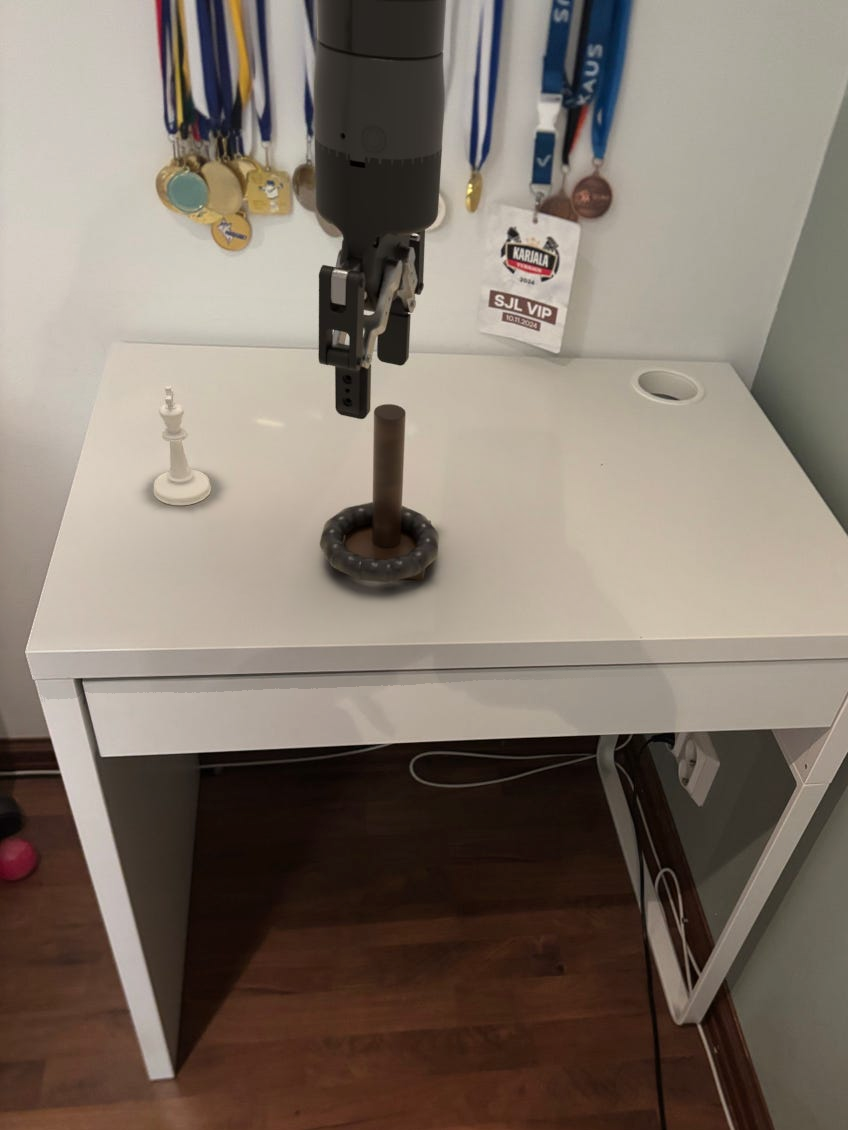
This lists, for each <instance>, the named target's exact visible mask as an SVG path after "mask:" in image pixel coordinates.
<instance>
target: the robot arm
mask: <svg viewBox="0 0 848 1130" xmlns="http://www.w3.org/2000/svg"><path fill="white" fill-rule="evenodd" d="M446 9H447V0H316V38H317V41H316V57H315V67H314V78H313V128H314V129H313V130H314V131H313V132H314V133H313V134H314V137H313V138H314V180H315V181H314V182H315V208H316V211H317V213H318V215H319V216H320V217H321V218H322V219H323V220H324V221H325V222H327V223H328V224H331V225H333V226H334V227H335V228H336V229H337V230H338V231H339V232H340V233H341V235H342V241H341V248H340V249H339V251H338V253H337V257H336V262H335V266H331V265H327V264H322V265H321V267H320V269H319V272H318V354H317V355H318V363H319V364H320V365H324V366H332V367H334V375H335V376H334V383H335V384H334V391H335V392H334V394H335V395H334V396H335V397H334V399H335V401H334V403H335V404H334V406H335V410H336V412H337V414H338V415H339V416H344V417H348V418H353V419H358V420H363V419H366V418H367V416H368V415H369V413H370V412H371V397H372V395H371V393H372V361H373V354H374V349H375V344H377V345H376V356H377V359H378V360H379V361H380V362H382V363H385V364H390V365H396V366H399V367H401V366H404V365H406V363H407V361H408V360H409V358H410V341H411V340H410V339H411V337H410V335H411V318H412V317H411V315H412V314H413V313H414V311H415V309H416V306H417V301H416V295H418V296H420V295H422V292H423V291H424V286H425V283H424V274H425V273H424V272H425V270H424V269H425V247H426V244H425V243H426V241H425V240H426V230H428V229H429V228H430V227H432V225H434V224H435V222H436V221H437V219H438V215H439V206H440V205H439V204H440V202H439V201H440V190H441V189H440V187H441V171H442V156H443V155H442V154H443V137H444V135H443V134H444V120H445V105H446V103H445V102H446V91H445V90H446V88H445V72H444V71H445V70H444V47H445V46H444V45H445V44H444V43H445V29H446V13H447V11H446ZM366 311H367V312H372V313H371V314H365V312H366ZM347 335H348V338H349V339H348V344H346V338H347ZM376 340H377V342H376Z"/></svg>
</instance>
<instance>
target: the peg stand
mask: <svg viewBox="0 0 848 1130" xmlns="http://www.w3.org/2000/svg"><path fill="white" fill-rule="evenodd" d="M405 435H406V410H405V409H404V408H403V407H402V406H399V405H397V404H392V403H385V404H380V405H378V406H376V407H375V408H374V410H373V439H372V441H373V445H372V446H373V447H372V449H373V450H372V453H373V454H372V502H373V508H372V524H370V525H365V526H361V527H356V528H354V529H353V530H351V531H350V532H349V533H347V534H346V535H345V536H344V539H343V543H344V544H345V546H346V547H347V549H348V550H350V551H352V552H354V553H356V554H358V555H360V556H362V557H365V558H376V559H391V558H395V557H399V556H403V555H407V554H408V553H409V552H410V551H411V550H413V549H414V548H415V547H416V543H417V540H416V539H415V537H414V536H413V535H412V534H411V532H408V531H406V530H404V529H402V528H401V518H402V506H403V492H404V491H403V490H404V489H403V487H404V467H405V466H404V465H405V464H404V463H405V462H404V461H405V438H406V436H405ZM428 521H429V522H430V523H431V524H432V521H431V520H430V519H428ZM338 572H339V573H342V572H341V571H339V570H338ZM425 572H426V568H425V569H424V570H422V571H421V572H420V573H419V574H417V575H415V576H412V577H408V578H406V579H407V580H408V579H409V580H419V581H423V580H424V578H425Z"/></svg>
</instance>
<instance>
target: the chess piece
mask: <svg viewBox="0 0 848 1130" xmlns="http://www.w3.org/2000/svg"><path fill="white" fill-rule="evenodd" d="M164 392H165V399H164V401H165V403H164V404H161V406H160V407H159V408H158V414H159V416H160V418H161V419H162V421H163V422H164V424H165V427H166V428H165V429H163V431H162V432H161V438H162V440H164V441H165V442H169V460H170V461H169V465H170V466H169V470H168V471H166V472H163V473H162V474H160V475H159V476H158V477H156V478H155V480H154V482H153V495H154V496H155V498H156V499H157V500H158V501H160V502H162V503H164V504H167V505H170V506H189V505H193V504H197V503H200V502H202V501H203V500H205V499H206V498H208V497H209V495H210V493H211V491H212V486H211V484H210V483H211V482H210V479H209V477H208V476H207V475H206V474H204V472H203V473H202V472H201V471H199V470H195V469H191V468H190V466H189V463H188V460H187V455H186V453H185V449H184V445H183V441H185V440H186V439H187V438H188V436H189V433H188V431H187V430H186V429H185V428H183V427H181V425H182V421H183V416H184V413H185V408H184V407H183V405H181V404H179V403H175V402H174V395H175V393H174V389H172V386H171V385H165V387H164Z"/></svg>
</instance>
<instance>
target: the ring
mask: <svg viewBox="0 0 848 1130" xmlns="http://www.w3.org/2000/svg"><path fill="white" fill-rule="evenodd" d="M372 508H373V501H372V502H367V503H362V504H357V505H352V506H347V507H345V508H342V510H340V511H339V512H338V513H336V514H335V515H333V516H332V517H331V518H329V519H328V520H326V521H325V523H324V526H323V528H322V533H321V536H320V540H319V548H320V551H321V552H322V553H323V555H324V556H325V558H326V559H327V561H328V562H329V564H330V565H331V567H332V568H334V569H336V570H338V572H339V571H341V572H340V573H342V574H346V575H347V576H350V577H352V578H354V579H356V580H358V581H359V580H360V581H368V582H380V583H391V582H395V581H399V580H404V579H407V578H408V577H412V576H415V575H417V574H419V573H420V572H421V571H422V570H424V569H425V570H426V568H427V567H428V566H430V565H431V564H432V563H433V562H434V561H435V560H436V559H437V557H438V551H439V542H440V535H439V532H438V531H437V529H436V528H435V527H434V526H433V524H432V522H431V523H430V522H429V521H428V520H429V519H428V518H427V517H426V516H425V515H424V514H422V513H420V512H418V511H416V510H413V509H412V508H408V507H406V506H404V505H402V518H401V528H402V529H404V530H406V531H408V532H411V534H412V535H413V536H414V537H415V539H416V540H417V543H416V547H415V548H414V549H413V550H411V551H410V552H409V553H408V554H407V555H403V556H399V557H395V558H391V559H376V558H365V557H362V556H360V555H358V554H356V553H354V552H352V551H350V550H348V549H347V547H346V546H345V544H344V543H343V542H344V538H345V535H346V534H347V533H349V532H350V531H351V530H353V529H354V528H356V527H361V526H365V525H370V524H372Z"/></svg>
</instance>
